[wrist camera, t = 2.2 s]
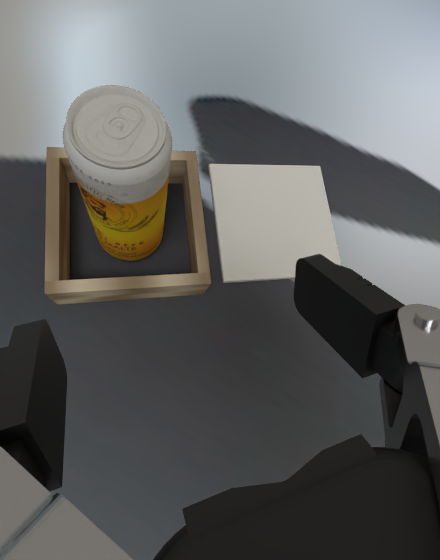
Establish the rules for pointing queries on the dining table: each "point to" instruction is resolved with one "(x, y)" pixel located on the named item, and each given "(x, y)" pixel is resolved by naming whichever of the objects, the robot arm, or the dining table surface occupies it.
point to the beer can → (120, 167)
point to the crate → (120, 287)
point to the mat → (269, 219)
